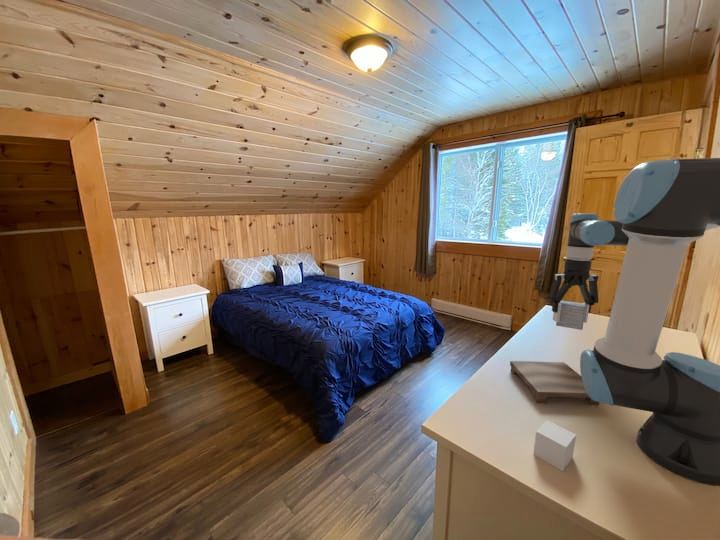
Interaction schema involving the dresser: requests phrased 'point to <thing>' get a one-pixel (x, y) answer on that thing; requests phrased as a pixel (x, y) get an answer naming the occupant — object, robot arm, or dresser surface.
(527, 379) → the walnut stand
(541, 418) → the dresser surface
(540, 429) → the white cube
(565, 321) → the medicine box
